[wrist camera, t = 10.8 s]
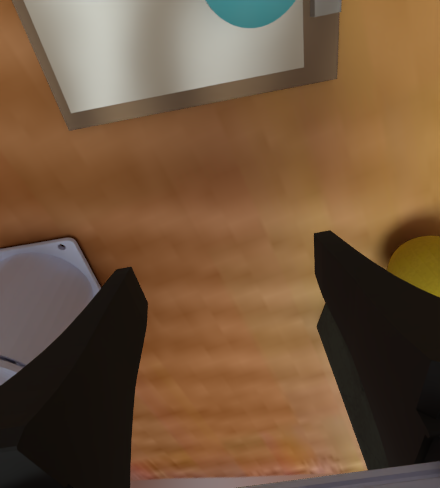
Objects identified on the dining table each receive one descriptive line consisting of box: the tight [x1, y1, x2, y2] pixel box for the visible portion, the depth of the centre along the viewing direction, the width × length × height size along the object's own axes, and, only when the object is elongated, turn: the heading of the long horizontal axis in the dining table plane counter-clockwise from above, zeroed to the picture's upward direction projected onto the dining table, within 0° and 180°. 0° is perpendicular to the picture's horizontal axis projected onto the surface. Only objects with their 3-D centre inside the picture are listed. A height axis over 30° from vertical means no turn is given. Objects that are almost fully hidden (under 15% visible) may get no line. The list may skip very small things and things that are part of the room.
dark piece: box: [317, 304, 390, 470], centre depth 19 cm, size 5×5×25 cm
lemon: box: [387, 236, 440, 297], centre depth 22 cm, size 6×6×8 cm
